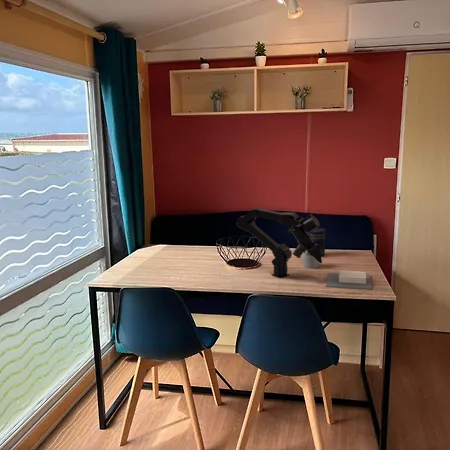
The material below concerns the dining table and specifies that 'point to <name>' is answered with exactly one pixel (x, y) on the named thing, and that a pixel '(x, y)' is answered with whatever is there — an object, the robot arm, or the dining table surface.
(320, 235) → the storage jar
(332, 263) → the dining table surface
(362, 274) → the cream flat block
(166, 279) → the dining table surface
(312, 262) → the cup
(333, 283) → the mat
